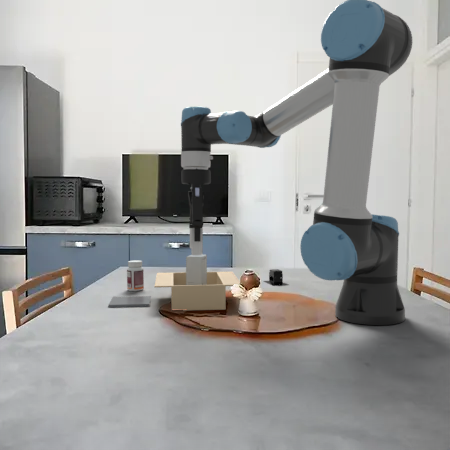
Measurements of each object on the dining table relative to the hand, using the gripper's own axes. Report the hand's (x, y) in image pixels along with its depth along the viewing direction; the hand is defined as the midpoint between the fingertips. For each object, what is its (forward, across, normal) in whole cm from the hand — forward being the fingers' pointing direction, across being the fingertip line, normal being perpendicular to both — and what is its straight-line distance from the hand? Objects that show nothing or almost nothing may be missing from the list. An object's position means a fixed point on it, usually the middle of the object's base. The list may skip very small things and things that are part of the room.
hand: (195, 251), depth 137 cm
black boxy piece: (+14, +25, -26) cm, 39 cm away
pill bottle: (+14, +18, +17) cm, 28 cm away
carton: (+13, 0, 0) cm, 13 cm away
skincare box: (+13, 0, 0) cm, 13 cm away
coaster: (+13, 0, +17) cm, 21 cm away
